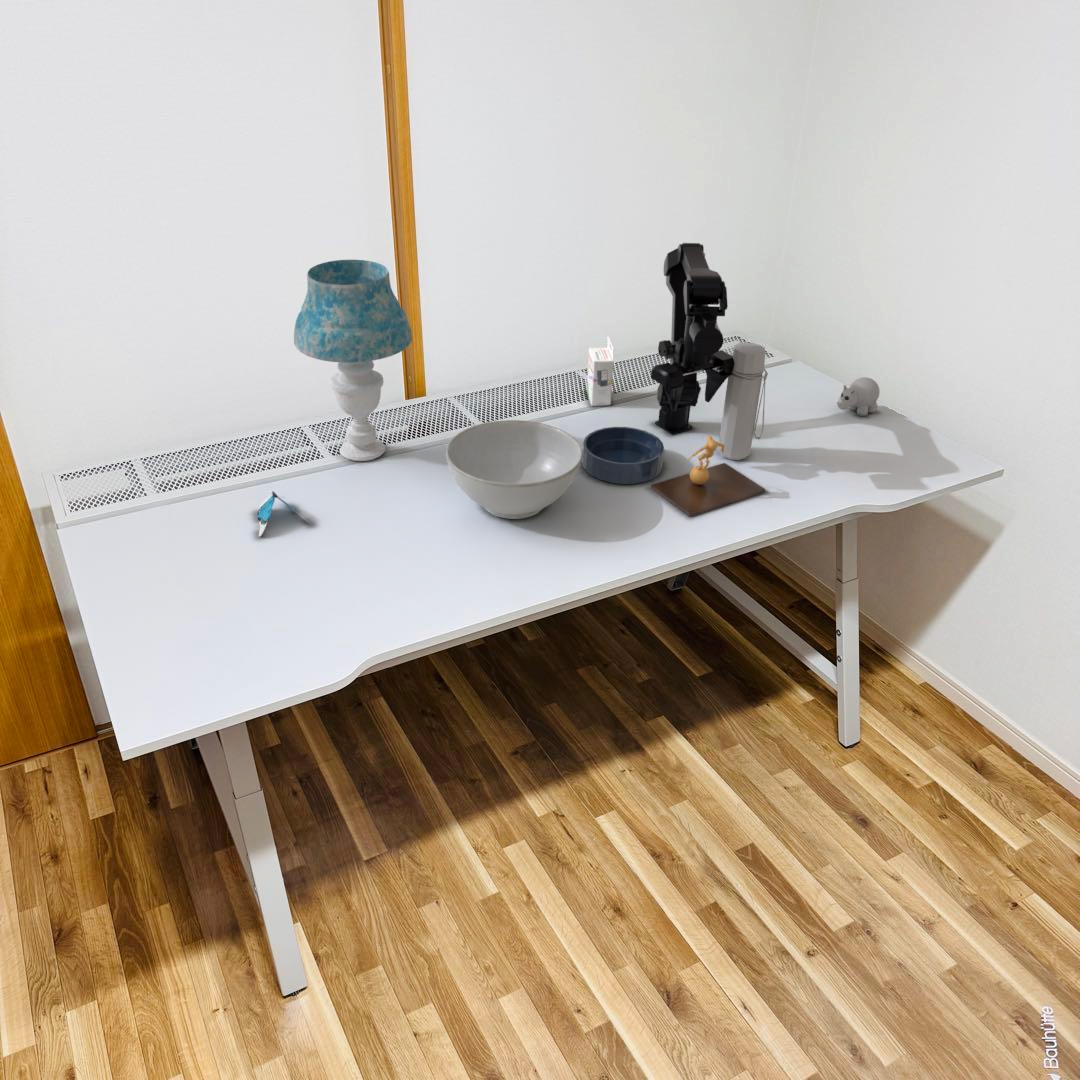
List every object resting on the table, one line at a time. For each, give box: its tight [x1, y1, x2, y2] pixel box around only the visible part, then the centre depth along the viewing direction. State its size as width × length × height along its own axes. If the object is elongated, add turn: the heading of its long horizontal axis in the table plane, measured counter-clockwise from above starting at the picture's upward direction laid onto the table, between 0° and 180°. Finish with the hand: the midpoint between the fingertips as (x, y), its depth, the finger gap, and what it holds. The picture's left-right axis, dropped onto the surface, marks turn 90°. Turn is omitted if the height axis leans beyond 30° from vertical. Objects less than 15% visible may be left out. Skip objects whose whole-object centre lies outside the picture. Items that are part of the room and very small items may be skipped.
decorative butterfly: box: [257, 490, 309, 537], centre depth 191 cm, size 10×6×10 cm
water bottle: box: [717, 341, 769, 461], centre depth 212 cm, size 9×8×25 cm
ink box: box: [586, 336, 615, 407], centre depth 238 cm, size 9×5×15 cm, turn 6°
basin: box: [581, 426, 665, 485], centre depth 212 cm, size 17×17×5 cm
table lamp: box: [293, 259, 413, 462], centre depth 205 cm, size 24×24×40 cm
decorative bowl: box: [445, 419, 583, 520], centre depth 196 cm, size 27×27×12 cm
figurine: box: [688, 435, 724, 485], centre depth 202 cm, size 8×6×12 cm
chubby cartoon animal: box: [836, 376, 881, 417], centre depth 236 cm, size 7×12×8 cm, turn 120°
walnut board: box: [650, 462, 766, 518], centre depth 205 cm, size 20×13×1 cm, turn 121°
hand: (690, 405), depth 209 cm, fingers open, 9 cm apart
